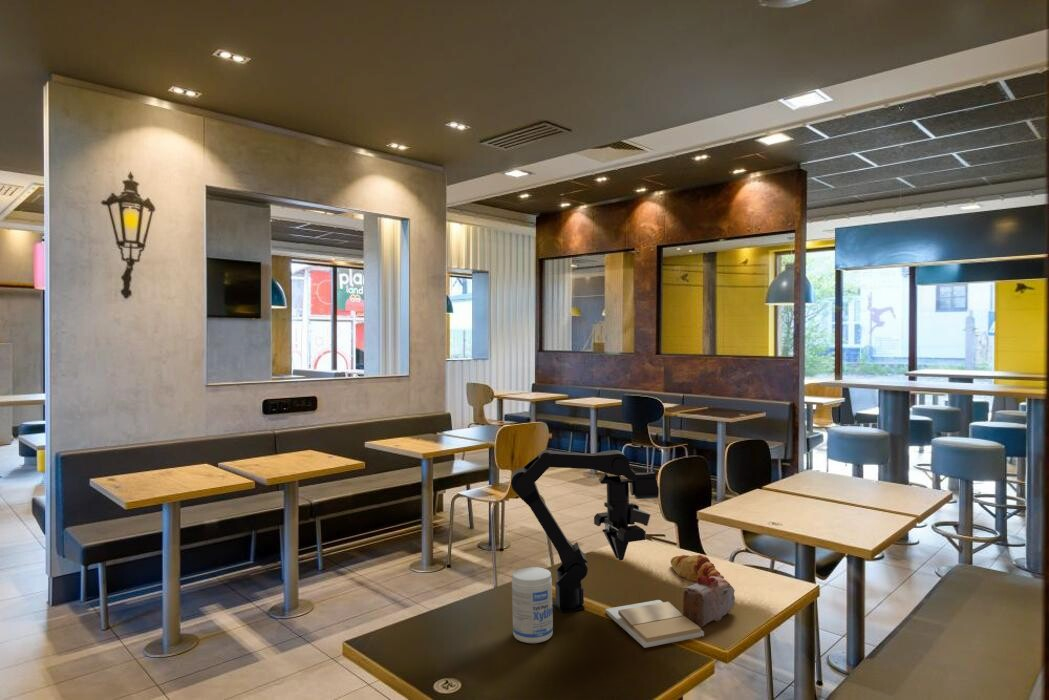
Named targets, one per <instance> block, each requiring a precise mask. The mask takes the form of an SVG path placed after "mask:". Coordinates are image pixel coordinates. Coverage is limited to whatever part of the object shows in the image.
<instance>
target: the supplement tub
mask: <svg viewBox="0 0 1049 700" xmlns="http://www.w3.org/2000/svg"><path fill="white" fill-rule="evenodd" d="M511 576H512V577H511V598H512V600H511V601H512V603H511V605H512V607H511V608H512V609H511V610H512V633H513V637H514V638H515V639H516V640H517V641H519V642H522V643H525V644H538V643H543V642H545V641H548V640H549V639H550V638H551V637H552V636H553V633H554V625H553V624H554V621H553V620H554V617H553V615H554V613H553V581H552V580H553V579H552V573H551V571H550V570H549V569H546V568H543V567H536V566H531V567H530V566H529V567H522V568H519V569H516V570H514V571H513V572H512V574H511Z"/></svg>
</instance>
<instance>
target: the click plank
mask: <svg viewBox="0 0 1049 700" xmlns="http://www.w3.org/2000/svg"><path fill="white" fill-rule="evenodd" d="M662 602H663V603H657V604H652V605H646V606H640V607H634V608H628V609H623V610H618V614H619V615H620V617H621V618H622V619H623V620H624V621H625V622H626V623H627V624H628V625H629V626H630V628H631V629H633V626H634V625H639V624H645V623H650V622H656V621H661V620H667V619H672V618H677V617H683V616H684V615H683V614H682V613H681V612H680V611H679V609H677V608H676V607H675V606H674V605H673V604H672V603H671V602H670V601H662Z"/></svg>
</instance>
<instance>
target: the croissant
mask: <svg viewBox="0 0 1049 700" xmlns="http://www.w3.org/2000/svg"><path fill="white" fill-rule="evenodd" d="M670 565H671V567H672V569H673V570H674V572H675V573H676V574H677V575H678V576H679V577H681V578H684V579H686V580H688V581H692V582H696V583H698V580H697V578H699V577H700V576H702V577H703V576H706V577H708V576H709V577H710V576H716V577H721V578H723V579H725V577H724V575H722V574H721V572H719V571H718V570H717V569H716V566H715V564H714V563H712V562H711V560H710V559H709V558H708V557H707V556H705V555H703V554H692V555H690V554H689V555H688V554H687V555H686V554H682V555H676V556H674V557H673V556H672V558H671V559H670Z"/></svg>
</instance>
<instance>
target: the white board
mask: <svg viewBox="0 0 1049 700" xmlns="http://www.w3.org/2000/svg"><path fill="white" fill-rule="evenodd" d="M663 602H664V601H662V600H660V599H655V600H650V601H644V602H639V603H633V604H625V605H622V606H621V605H620V606H615V607H610V608H605V614H607V616H608V617H610V618H611V619H612V620H613V621H614V622H615V623H616V624H617V625H619V626H620V627H621V628H622V629H623V630H624V631H625V632H627V633H628V634H629V635H630V636H631V637H632V638H633V639H634V640H635V641H636V642H637V643H639V644H640V645H641V646H642V647H643V648H644V649H645V648H650V647H656V646H660V645H665V644H671V643H675V642H681V641H685V640H686V641H687V640H692V639H696V638H697V639H698V638H701V636H702V637H704V636H705V631H704V630H702V627H701V626H699V625H696V624H695V623H693V622H692V621H691V620H689V619H688V618H686V617H685V616H683V617H677V618H672V619H667V620H661V621H656V622H650V623H645V624H639V625H634V626H633V629H631V628H630V626H629V625H628V624H627V623H626V622H625V621H624V620H623V619H622V618H621V617H620V615H619V614H618V610H623V609H628V608H634V607H640V606H646V605H652V604H657V603H663Z"/></svg>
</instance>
